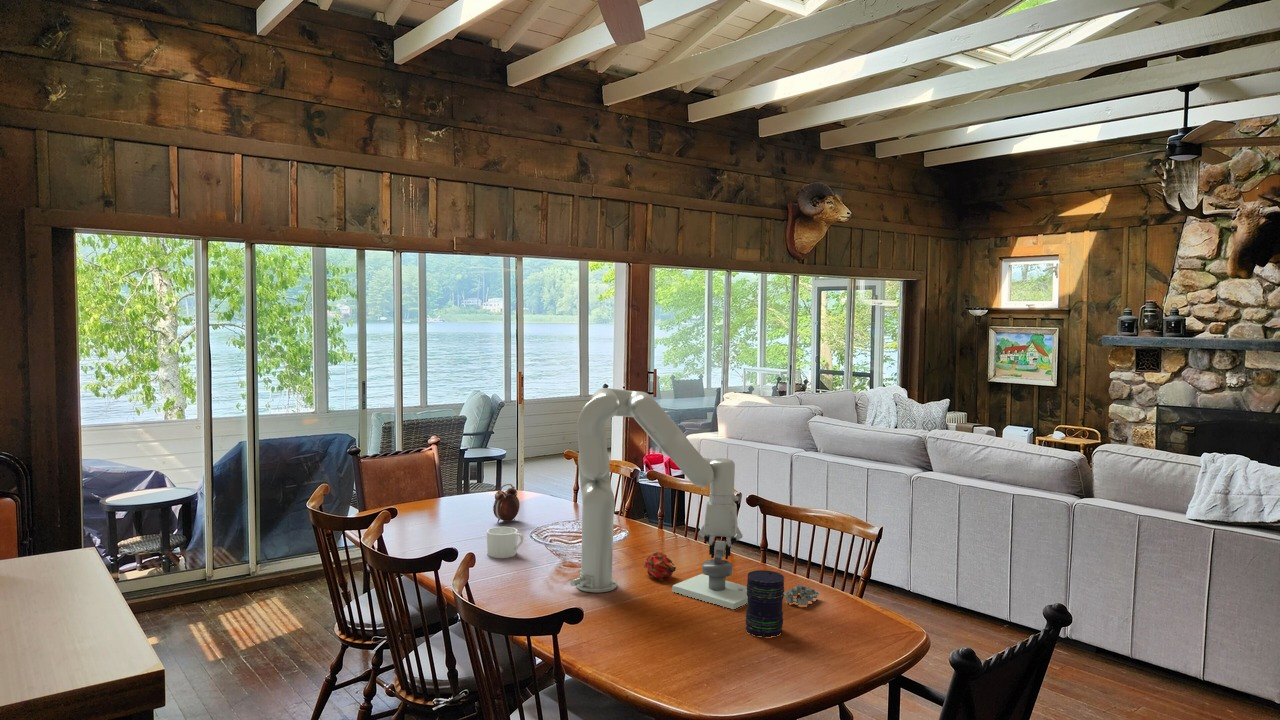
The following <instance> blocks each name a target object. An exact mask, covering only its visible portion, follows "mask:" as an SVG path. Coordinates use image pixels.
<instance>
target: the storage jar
mask: <svg viewBox="0 0 1280 720" xmlns="http://www.w3.org/2000/svg"><path fill="white" fill-rule="evenodd" d="M784 582H785V576H784V575H783V574H782V573H780V572H777V571H772V570H765V569H763V570H762V569H761V570H753V571H749V572H748V573H747V583H746V586H747V596H748V603H747V604H746V605H747V607H746V610H745V625H746V626H745V631H746V630H747V632H748V633H750V634H753V635H755V636H762V637H771V636H777V635H779V634H780V633H782V634H783V624H784V612H783V600H784V597H785V596H784V592H785V583H784ZM747 632H746V633H747ZM748 633H747V634H748ZM750 634H749V635H750Z"/></svg>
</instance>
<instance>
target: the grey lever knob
mask: <svg viewBox="0 0 1280 720" xmlns="http://www.w3.org/2000/svg"><path fill="white" fill-rule="evenodd" d="M714 544H715V548H714V558H711V559H706V560H704V561H702V569H701V570H702V571H701V572H702V574H704V575H707V576H712V577H730V576H732V575H733V569H734V564H733V563H732V562H731V561H728V560H726V559H725V560H724V559H723V558H725V552H726V541H723V540H715V542H714Z"/></svg>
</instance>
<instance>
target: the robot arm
mask: <svg viewBox="0 0 1280 720" xmlns="http://www.w3.org/2000/svg"><path fill="white" fill-rule="evenodd" d="M614 417H625V418H633V419H634V420H635V422H637V424H638V425H639V426H640V427H641V428H642V430H643V431H645V433H646V434H647V435H648V436H649V438H650V439H651V440H652V441H653V442H654V443H655V444H656V445H657V446H658V448H659V449H660V450H661V451H662V452H663V453H664V454H665V455H666V456H667V457H669V459H670V460H672V462H673V463H674V464H675V465H676V466H677V467H678V469H679V470H680V471H681V472H682V473H683V474H684V475H685V476H686V478H687V479H688V480H689V481H690V482H691V484H693V485H694V486H696V487H698V488H703V487H705V488H706V487H707V486H709V497H708V498H709V500H708V501H707V503H706V506H705V512H704V523H703V525H702V527H701V528H700V529H699V531H698V532H697V533H698V536H700V537H701V538H702V539H704V540H705V542H706V543H707V544H708V545H709V546H708V547H709V548H708V549H709V551H708V554H709V555H711V556H710V557H711V558H710V559H714V558H715V542H714V538H715V537H724V538H725V537H726V544H725V556H724V558H725V560H728V559H729V557H731V547H732V546H733V544H735V543H736V542H737V541H740V540H741V539H743V537H744V535H743V533H742V531H741V530H740V529H739V526H738V507H737V503H736V502H737V501H739V498H740V496H738V495H735V475H736V473H735V470H736V469H735V468H736V465H735V464H736V463H735V462H734V461H733V459H729V458H706V457H703V455H702V454H700V452H699V451H698V450H697V448H696V447H694V445H693V444H692V443H691V442H690V440H689V439H688V438H687V436H686V435H685V434H684V432H683V430H682V429H681V428H680V427H679V425H677V423H676V422H675V421H673V419H672V418H671V417H670V416H669V414H668V413H666V411H665V410H664V409H663V407H661V405H660V404H659V403H658V402H657V400H656V399H654V397H652V395H650V393H648V392H646V391H639V390H627V389H618V388H612V387H611V388H609V387H603V388H602V387H601V388H599V389H597V390H596V391H594V392H593V394H592V395H591V398H590V400H589V401H588V402H587V403H586V404H585V405H584V406H583V408H582V409H581V411H580V413H579V416H578V418H577V425H576V426H577V427H576V430H577V443H578V444H577V445H578V456H577V464H578V472H579V473H578V475H579V483H580V491H581V500H582V516H581V519H582V520H581V562H580V563H581V564H580V565H581V566H580V567H581V568H580V572H578V576H577V578H574V579H571V580H570V582H569V585H570V586H571V587H576V588H577V589H578V590H580V591H582V592H588V593H606V592H607V593H608V592H610V591H614V590H615V589H617V587H618V582H617V580H616V579H615V578H613V557H614V556H613V555H614V554H613V553H614V552H613V551H614V519H615V507H616V505H615V504H616V503H615V502H616V500H615V496H614V492H613V491H614V490H612V483H611V475H610V473H611V472H610V458H609V457H610V456H609V454H608V446H607V433H606V429H607V428H606V427H607V423H608V422H609V421H610V420H611V419H612V418H614Z"/></svg>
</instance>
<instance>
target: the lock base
mask: <svg viewBox="0 0 1280 720" xmlns="http://www.w3.org/2000/svg"><path fill="white" fill-rule="evenodd" d="M671 591H672V593H674V592H675V593H674V594H677V593H679V594H678V595H681V594H682V595H681V596H684V597H687V596H688V598H691V597H692V599H694V598H695V600H697V599H699V600H698V601H700V600H702V601H701V602H704V601H705V602H704V603H707V602H709V603H708V604H710V603H713V604H712V605H714V604H717V605H720V606H723V607H722V608H724V607H727V608H731V609H736V608H738V607H740V606H742V605H744V604H746V603H748V596H747V585H744V584H739V583H736V582H733V581H729V580H726V577H712V576H708V575H705V574H704V573H700V574H698V575H695V576H692V577H690V578H687V579H684V580H683V581H680V582H677V583H675V584H673V585H672V590H671ZM717 605H716V606H717ZM746 605H747V604H746ZM720 606H719V607H720ZM744 606H745V605H744ZM742 607H743V606H742ZM727 608H726V609H727ZM740 608H741V607H740ZM738 609H739V608H738ZM736 610H737V609H736Z"/></svg>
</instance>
